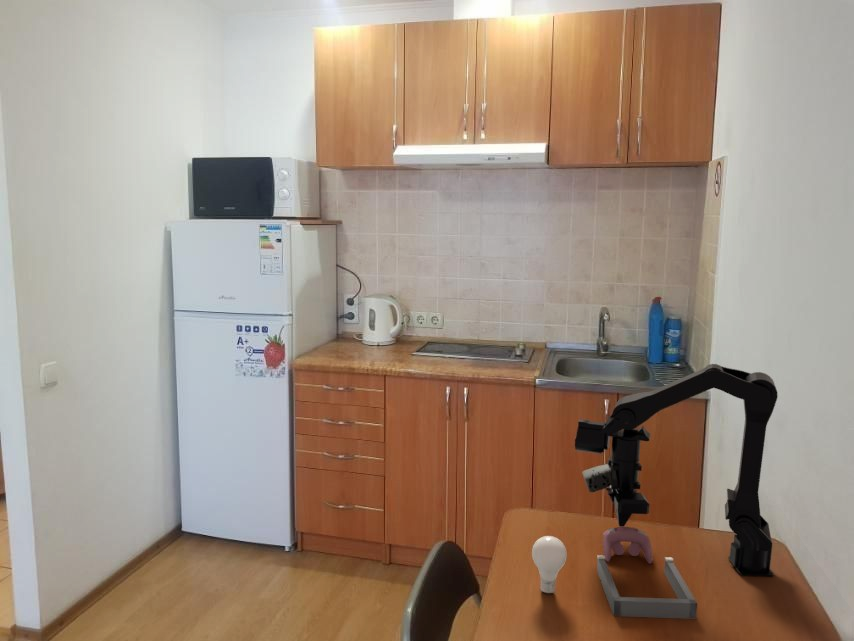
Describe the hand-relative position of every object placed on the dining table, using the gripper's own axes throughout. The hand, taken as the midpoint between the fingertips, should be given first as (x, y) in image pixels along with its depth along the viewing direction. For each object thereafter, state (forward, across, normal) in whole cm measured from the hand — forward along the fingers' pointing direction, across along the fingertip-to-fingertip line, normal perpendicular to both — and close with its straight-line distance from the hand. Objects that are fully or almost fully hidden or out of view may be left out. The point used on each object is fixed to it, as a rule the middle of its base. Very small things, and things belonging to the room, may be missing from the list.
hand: (621, 525), depth 143 cm
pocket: (+4, +18, 0) cm, 19 cm away
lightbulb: (+4, +20, -18) cm, 27 cm away
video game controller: (+4, +6, 0) cm, 7 cm away
